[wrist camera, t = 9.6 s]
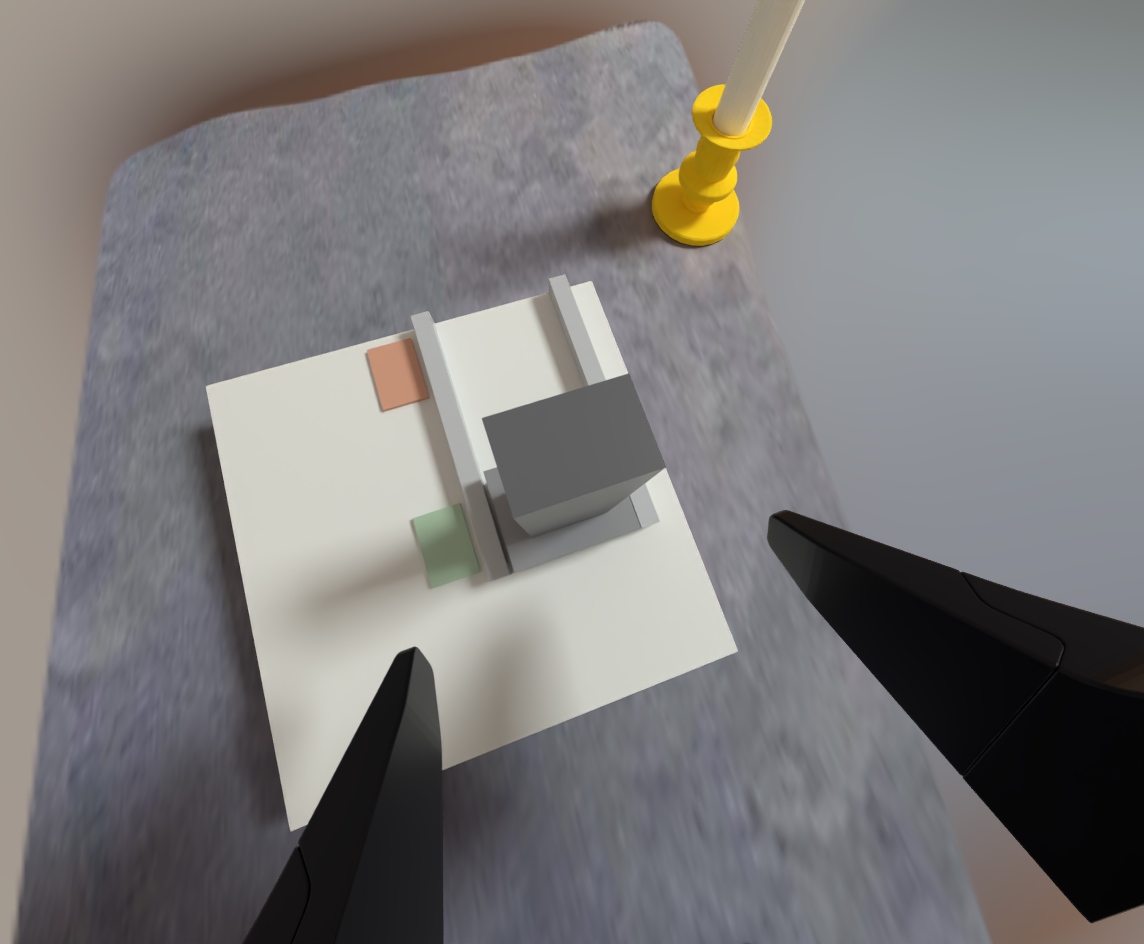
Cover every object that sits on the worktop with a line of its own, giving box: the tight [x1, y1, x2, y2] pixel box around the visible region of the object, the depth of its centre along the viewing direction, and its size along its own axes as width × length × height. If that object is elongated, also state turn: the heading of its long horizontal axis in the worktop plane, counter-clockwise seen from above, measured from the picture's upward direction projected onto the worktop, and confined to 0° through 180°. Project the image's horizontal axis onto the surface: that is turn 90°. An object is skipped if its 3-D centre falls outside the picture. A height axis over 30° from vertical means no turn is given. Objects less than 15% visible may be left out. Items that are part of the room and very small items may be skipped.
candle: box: [652, 0, 805, 246], centre depth 17 cm, size 5×5×16 cm
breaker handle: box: [482, 373, 666, 573], centre depth 13 cm, size 4×5×10 cm
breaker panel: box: [206, 275, 738, 831], centre depth 18 cm, size 18×18×4 cm
